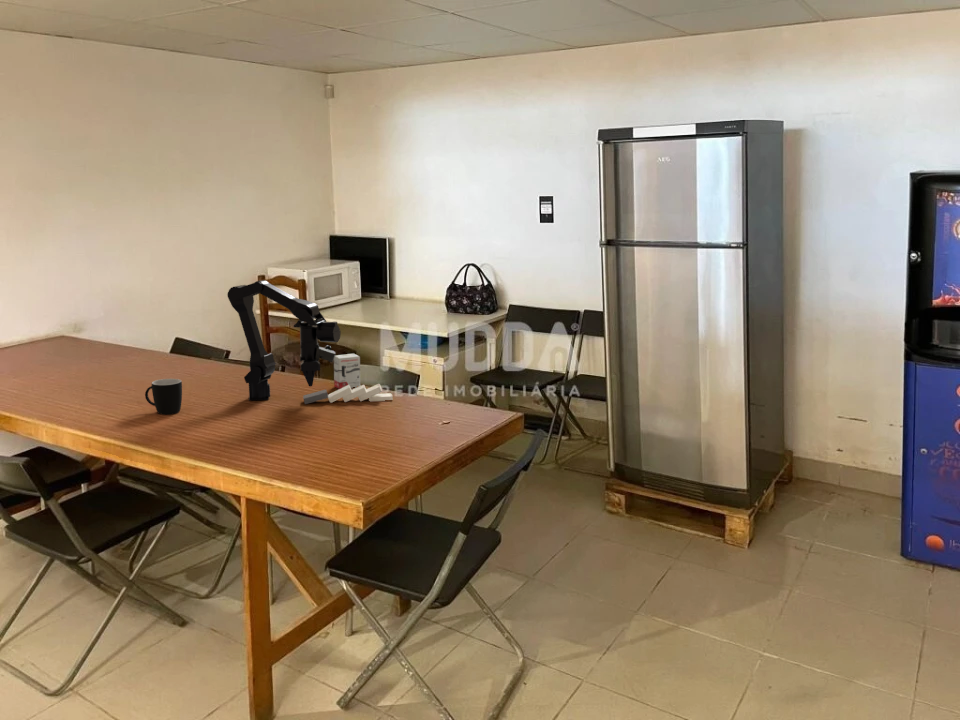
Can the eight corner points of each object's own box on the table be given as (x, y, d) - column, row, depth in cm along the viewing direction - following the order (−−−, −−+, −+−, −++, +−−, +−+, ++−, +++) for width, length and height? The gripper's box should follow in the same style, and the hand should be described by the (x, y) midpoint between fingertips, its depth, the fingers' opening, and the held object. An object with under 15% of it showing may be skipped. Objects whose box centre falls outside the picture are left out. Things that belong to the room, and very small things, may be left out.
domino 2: (327, 398, 263) (349, 387, 264) (327, 394, 267) (348, 384, 268) (330, 403, 263) (352, 392, 264) (330, 399, 268) (351, 389, 268)
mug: (188, 409, 254) (186, 379, 252) (175, 416, 245) (172, 385, 243) (154, 407, 255) (151, 377, 253) (139, 415, 247) (136, 384, 244)
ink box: (339, 389, 282) (338, 357, 279) (334, 387, 286) (333, 355, 283) (361, 386, 286) (360, 355, 284) (355, 384, 290) (354, 353, 288)
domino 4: (357, 396, 265) (379, 386, 265) (358, 392, 269) (379, 383, 269) (360, 401, 265) (381, 391, 265) (360, 397, 270) (381, 388, 270)
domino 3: (342, 397, 264) (364, 387, 264) (342, 393, 268) (363, 384, 268) (344, 402, 264) (366, 392, 265) (345, 398, 269) (366, 389, 269)
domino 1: (303, 398, 261) (326, 392, 262) (303, 395, 265) (326, 389, 266) (305, 404, 261) (328, 397, 263) (304, 401, 266) (327, 394, 267)
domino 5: (369, 397, 266) (392, 396, 267) (368, 394, 270) (391, 393, 272) (369, 403, 266) (392, 402, 268) (368, 399, 270) (391, 398, 272)
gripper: (335, 345, 253) (336, 391, 256) (332, 335, 270) (333, 378, 273) (300, 346, 250) (301, 393, 253) (299, 336, 268) (300, 380, 271)
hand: (310, 386), depth 263 cm, fingers closed
